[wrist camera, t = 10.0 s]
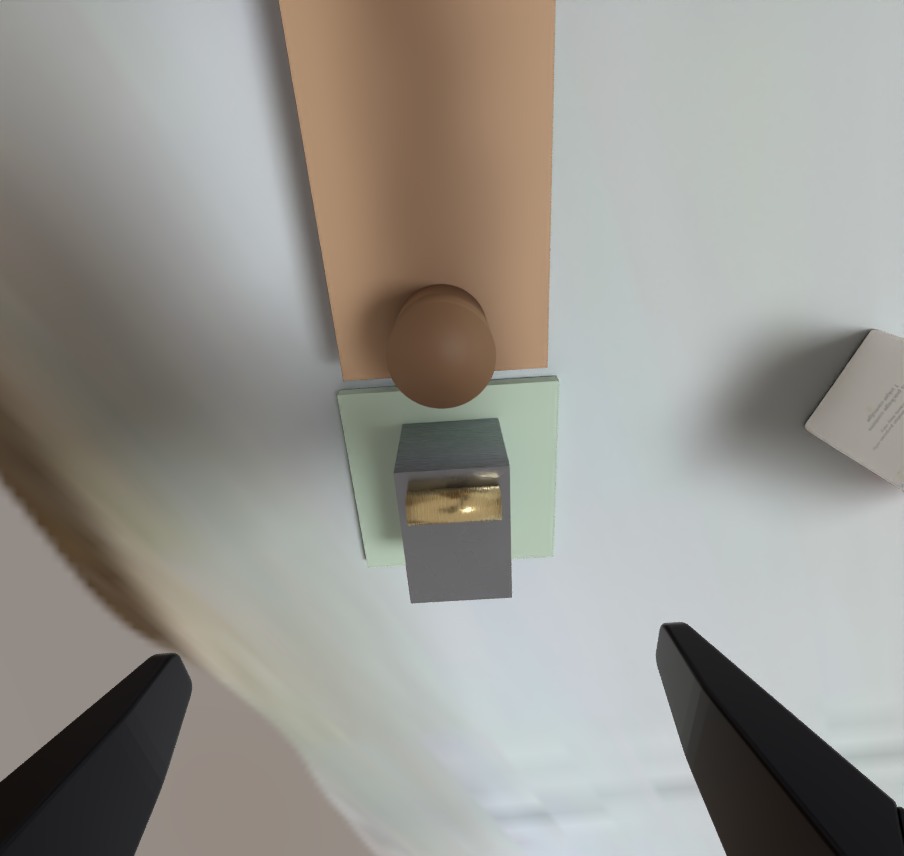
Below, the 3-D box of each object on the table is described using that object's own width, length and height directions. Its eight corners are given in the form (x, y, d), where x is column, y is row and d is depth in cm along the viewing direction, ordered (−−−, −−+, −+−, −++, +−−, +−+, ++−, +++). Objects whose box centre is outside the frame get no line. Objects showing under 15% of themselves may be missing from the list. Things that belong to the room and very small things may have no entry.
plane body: (536, -263, 12) (611, -636, 7) (532, 342, 19) (567, 401, 14) (267, -240, 13) (126, -590, 7) (358, 353, 19) (323, 416, 14)
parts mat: (555, 376, 20) (559, 380, 19) (550, 548, 24) (553, 556, 23) (339, 389, 20) (336, 395, 20) (369, 559, 24) (367, 567, 23)
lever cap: (498, 417, 20) (513, 481, 16) (501, 533, 23) (515, 617, 18) (402, 423, 20) (390, 489, 16) (416, 538, 23) (409, 623, 18)
